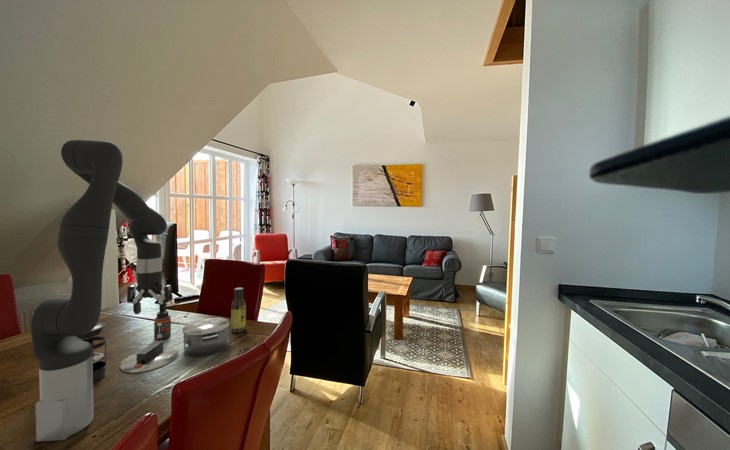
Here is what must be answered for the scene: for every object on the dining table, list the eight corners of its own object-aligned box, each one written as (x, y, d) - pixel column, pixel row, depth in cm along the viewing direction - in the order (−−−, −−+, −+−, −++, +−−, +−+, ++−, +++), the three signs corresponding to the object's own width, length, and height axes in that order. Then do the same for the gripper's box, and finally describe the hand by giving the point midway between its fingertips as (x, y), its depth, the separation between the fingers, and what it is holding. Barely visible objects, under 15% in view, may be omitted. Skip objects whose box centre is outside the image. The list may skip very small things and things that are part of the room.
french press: (111, 366, 99) (110, 302, 98) (109, 378, 92) (108, 309, 91) (62, 378, 92) (61, 309, 91) (56, 392, 84) (54, 317, 84)
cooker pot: (234, 352, 110) (234, 330, 110) (184, 365, 101) (183, 340, 100) (225, 332, 128) (225, 313, 128) (181, 341, 119) (181, 320, 118)
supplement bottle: (162, 341, 119) (161, 315, 118) (150, 339, 120) (150, 313, 119) (174, 335, 125) (174, 310, 124) (163, 334, 126) (162, 309, 125)
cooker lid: (160, 372, 96) (160, 358, 96) (107, 374, 95) (106, 359, 95) (187, 349, 113) (187, 336, 113) (142, 350, 112) (142, 337, 111)
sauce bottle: (243, 333, 128) (243, 290, 128) (229, 333, 127) (229, 290, 127) (247, 327, 135) (247, 286, 134) (233, 327, 134) (233, 286, 133)
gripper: (120, 272, 98) (121, 317, 99) (163, 272, 100) (164, 316, 100) (136, 267, 106) (136, 310, 106) (176, 268, 107) (176, 309, 108)
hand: (150, 313), depth 103 cm, fingers open, 8 cm apart
